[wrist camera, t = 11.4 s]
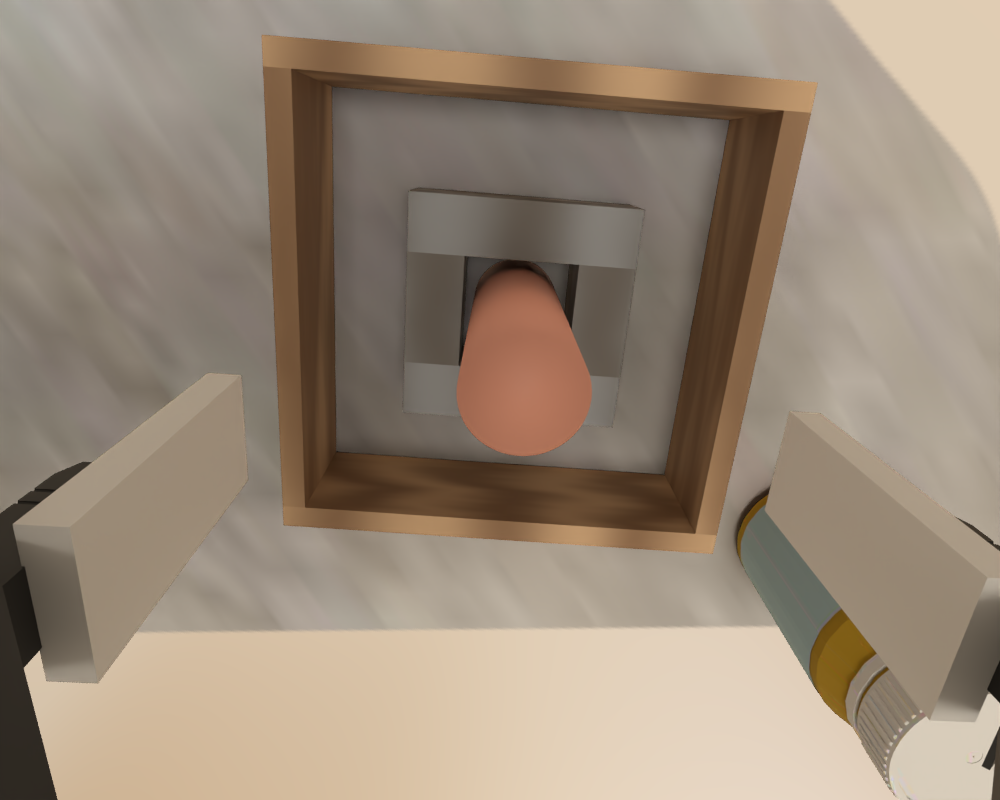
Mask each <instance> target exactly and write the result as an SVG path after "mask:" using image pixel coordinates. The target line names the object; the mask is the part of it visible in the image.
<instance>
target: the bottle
mask: <svg viewBox="0 0 1000 800" xmlns="http://www.w3.org/2000/svg"><path fill="white" fill-rule="evenodd" d="M768 495H769V494H768ZM768 495H767V496H766V497H764V498H763V499H761V500H760V501H759V502H758V503H756V504H755V505H754V507H753V508H752V509H751V510H750V512H749V513H748V514H747V515H746V517H745V518H744V520H743V522H742V525H741V528H740V530H739V533H738V538H737V551H738V555H739V558H740V560H741V563H742V565H743V567H744V569H745V571H746V573H747V575H748V576H749V578H750V580H751V581H752V583H753V585H754V587H755V588H756V590H757V592H758V593H759V595H760V597H761V598H762V600H763V602H764V603H765V605H766V607H767V608H768V610H769V612H770V613H771V615H772V617H773V618H774V620H775V622H776V623H777V625H778V627H779V628H780V630H781V632H782V633H783V635H784V637H785V638H786V640H787V642H788V643H789V645H790V647H791V648H792V650H793V652H794V654H795V655H796V657H797V658H798V660H799V662H800V664H801V665H802V667H803V669H804V670H805V672H806V673H807V675H808V677H809V679H810V680H811V682H812V684H813V685H814V687H815V689H816V690H817V692H818V693H819V694H820V696H821V697H822V699H823V701H824V702H825V703H826V704H827V705H828V706H829V707H830V708H831V709H832V711H833V712H834V713H835V714H837V715H838V716H839V717H841V718H842V719H843V720H844V721H846V722H847V723H848V724H849V725H851V726H852V727H853V729H854V730H855V732H856V734H857V735H858V737H859V738H860V740H861V742H862V745H863V747H864V749H865V750H866V752H867V754H868V755H869V757H870V759H871V760H872V762H873V763H874V765H875V767H876V768H877V770H878V771H879V773H880V775H881V776H882V778H883V780H884V781H885V783H886V784H887V786H888V788H889V789H890V791H891V792H892V793H893V794H894V796H895V797H897V798H898V799H899V800H991V797H992V787H993V776H994V766H995V764H994V765H993V767H992V768H991V769H990V770H988V769H986V768H984V767H982V764H983V762H984V760H985V757H986V755H987V753H988V751H989V749H990V746H991V744H992V742H993V740H994V738H995V736H996V733H997V731H998V729H999V727H1000V703H999V702H998V701H997V700H996V699H995V698H994V697H993V696H992V695H991V693H990V692H988V694H987V697H986V699H985V701H984V704H983V706H982V708H981V710H980V713H979V715H978V717H977V720H976V722H952V721H930V720H929V719H928V718H927V717H926V715H925V714H924V713H923V712H922V710H921V709H920V708H919V706H918V705H917V704H916V703H915V701H914V700H913V699H912V698H911V696H910V695H909V694H908V692H907V691H906V690H905V689H904V687H903V686H902V685H901V683H900V682H899V681H898V680H897V678H896V677H895V676H894V675H893V673H892V672H891V671H890V669H889V668H888V667H887V666H886V664H885V663H884V662H883V661H882V659H881V658H880V657H879V655H878V654H877V653H876V652H875V650H874V649H873V648H872V647H871V645H870V644H869V643H868V641H867V640H866V639H865V638H864V636H863V635H862V634H861V633H860V631H859V630H858V629H857V627H856V626H855V625H854V624H853V622H852V621H851V620H850V619H849V617H848V616H847V615H846V613H845V612H844V611H843V610H842V608H841V607H840V606H839V604H838V603H837V602H836V601H835V599H834V598H833V597H832V596H831V594H830V593H829V592H828V590H827V589H826V588H825V587H824V585H823V584H822V583H821V582H820V580H819V579H818V578H817V576H816V575H815V574H814V573H813V571H812V570H811V569H810V568H809V566H808V565H807V564H806V562H805V561H804V560H803V559H802V557H801V556H800V555H799V554H798V552H797V551H796V550H795V548H794V547H793V546H792V545H791V543H790V542H789V541H788V540H787V538H786V537H785V536H784V534H783V533H782V532H781V531H780V529H779V528H778V527H777V525H776V524H775V523H774V522H773V520H772V519H771V518H770V517H769V515H768V514H767V513H766V511H765V507H766V503H767V499H768Z"/></svg>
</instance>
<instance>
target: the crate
mask: <svg viewBox="0 0 1000 800" xmlns="http://www.w3.org/2000/svg"><path fill="white" fill-rule="evenodd" d="M262 54H263V76H264V98H265V120H266V143H267V165H268V187H269V209H270V231H271V253H272V276H273V298H274V320H275V342H276V364H277V387H278V409H279V431H280V453H281V475H282V497H283V520H284V525H288V526H303V527H318V528H333V529H348V530H363V531H378V532H393V533H408V534H423V535H438V536H453V537H468V538H483V539H498V540H513V541H528V542H543V543H558V544H573V545H588V546H603V547H618V548H633V549H648V550H663V551H678V552H693V553H708V554H713V550H714V545H715V541H716V536H717V532H718V527H719V523H720V518H721V514H722V509H723V505H724V500H725V496H726V491H727V487H728V482H729V478H730V474H731V469H732V465H733V460H734V456H735V451H736V447H737V442H738V438H739V433H740V429H741V424H742V420H743V415H744V411H745V406H746V402H747V397H748V393H749V388H750V384H751V379H752V375H753V370H754V366H755V362H756V357H757V353H758V348H759V344H760V339H761V335H762V330H763V326H764V321H765V317H766V312H767V308H768V303H769V299H770V294H771V290H772V285H773V281H774V276H775V272H776V267H777V263H778V258H779V254H780V250H781V245H782V241H783V236H784V232H785V227H786V223H787V218H788V214H789V209H790V205H791V200H792V196H793V191H794V187H795V182H796V178H797V173H798V169H799V164H800V160H801V155H802V151H803V146H804V142H805V138H806V133H807V129H808V124H809V120H810V115H811V111H812V106H813V102H814V97H815V93H816V88H817V84H818V83H816V82H804V81H792V80H781V79H769V78H758V77H746V76H734V75H723V74H711V73H700V72H688V71H676V70H665V69H653V68H642V67H630V66H618V65H607V64H595V63H584V62H572V61H560V60H549V59H537V58H526V57H514V56H502V55H491V54H479V53H468V52H456V51H444V50H433V49H421V48H410V47H398V46H386V45H375V44H363V43H352V42H340V41H328V40H317V39H305V38H293V37H282V36H270V35H262ZM332 87H343V88H355V89H367V90H379V91H390V92H402V93H414V94H426V95H438V96H450V97H462V98H473V99H485V100H497V101H509V102H521V103H533V104H545V105H556V106H568V107H580V108H592V109H604V110H616V111H628V112H639V113H651V114H663V115H675V116H687V117H699V118H711V119H722V120H730V122H729V127H728V133H727V138H726V143H725V149H724V154H723V160H722V165H721V171H720V176H719V181H718V187H717V192H716V198H715V203H714V209H713V214H712V220H711V225H710V230H709V236H708V241H707V247H706V252H705V258H704V263H703V268H702V274H701V279H700V285H699V290H698V296H697V301H696V307H695V312H694V317H693V323H692V328H691V334H690V339H689V345H688V350H687V355H686V361H685V366H684V372H683V377H682V383H681V388H680V394H679V399H678V404H677V410H676V415H675V421H674V426H673V432H672V437H671V442H670V448H669V453H668V459H667V464H666V470H665V475H658V474H644V473H630V472H615V471H601V470H586V469H572V468H558V467H543V466H529V465H515V464H500V463H486V462H472V461H457V460H443V459H428V458H414V457H400V456H385V455H371V454H357V453H342V452H336V390H335V308H334V225H333V143H332ZM644 214H645V210H644V209H641V208H638V207H635V206H632V205H627V204H615V203H603V202H590V201H578V200H565V199H553V198H541V197H528V196H516V195H503V194H491V193H478V192H466V191H454V190H441V189H429V188H416V189H413V190H410V191H408V229H407V267H406V305H405V343H404V381H403V413H417V414H431V415H445V416H459V417H461V415H460V412H459V408H458V404H457V382H458V376H459V371H460V366H461V361H462V356H463V351H464V346H463V329H464V312H465V295H466V278H467V261H468V256H472V257H484V258H497V259H510V260H523V261H536V262H549V263H561V264H570V268H569V277H568V285H567V294H566V303H565V312H564V314H565V316H566V318H567V321H568V323H569V326H570V328H571V330H572V333H573V335H574V338H575V340H576V342H577V345H578V347H579V349H580V352H581V354H582V357H583V359H584V361H585V364H586V366H587V369H588V372H589V374H590V379H591V385H592V399H591V404H590V408H589V411H588V414H587V416H586V418H585V420H584V422H583V424H582V425H585V426H599V427H613V422H614V415H615V409H616V402H617V395H618V389H619V382H620V375H621V368H622V362H623V355H624V348H625V341H626V335H627V328H628V321H629V315H630V308H631V301H632V294H633V288H634V281H635V274H636V268H637V261H638V254H639V247H640V241H641V234H642V227H643V220H644Z"/></svg>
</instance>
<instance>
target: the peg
mask: <svg viewBox="0 0 1000 800" xmlns="http://www.w3.org/2000/svg"><path fill="white" fill-rule="evenodd" d="M591 399H592V385H591V379H590V374H589V372H588V369H587V366H586V364H585V361H584V359H583V357H582V354H581V352H580V349H579V347H578V345H577V342H576V340H575V338H574V335H573V333H572V330H571V328H570V326H569V323H568V321H567V318H566V316H565V314H564V311H563V309H562V306H561V304H560V302H559V299H558V297H557V294H556V292H555V290H554V287H553V285H552V282H551V281H550V279H549V277H548V276H547V274H546V273H545V272H544V271H543V270H542V269H541V268H540V267H538V266H537V265H535V264H534V263H531V262H529V261H523V260H510V259H509V260H504V261H501V262H499V263H497V264H495V265H493V266H492V267H490V268H489V269H488V270H487V271H486V272H485V273H484V274H483V275H482V277H481V278H480V280H479V282H478V285H477V287H476V291H475V296H474V301H473V306H472V311H471V316H470V321H469V326H468V331H467V336H466V341H465V346H464V351H463V356H462V361H461V366H460V371H459V376H458V382H457V404H458V408H459V412H460V415H461V417H462V419H463V421H464V423H465V425H466V426H467V428H468V429H469V430H470V432H471V433H472V434H473V435H474V436H475V437H476V438H477V439H478V440H479V441H481V442H482V443H483V444H485V445H486V446H488V447H490V448H492V449H494V450H496V451H499V452H501V453H505V454H509V455H516V456H531V455H538V454H542V453H545V452H548V451H551V450H553V449H555V448H557V447H559V446H561V445H562V444H564V443H565V442H567V441H568V440H569V439H570V438H571V437H572V436H573V435H574V434H575V433H576V432H577V431H578V430H579V428H580V427H581V425H582V424H583V422H584V420H585V418H586V416H587V414H588V411H589V408H590V404H591Z"/></svg>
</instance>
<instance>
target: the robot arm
mask: <svg viewBox="0 0 1000 800" xmlns="http://www.w3.org/2000/svg"><path fill="white" fill-rule="evenodd" d="M247 481H248V469H247V454H246V440H245V425H244V410H243V395H242V380H241V375H233V374H218V373H207V374H206V375H204V376H203V377H202V378H201V379H199V380H198V381H197V382H195V383H194V384H193V385H191V386H190V387H189V388H188V389H186V390H185V391H184V392H182V393H181V394H180V395H179V396H177V397H176V398H175V399H173V400H172V401H171V402H170V403H168V404H167V405H166V406H164V407H163V408H162V409H161V410H159V411H158V412H157V413H155V414H154V415H153V416H151V417H150V418H149V419H148V420H146V421H145V422H144V423H142V424H141V425H140V426H139V427H137V428H136V429H135V430H133V431H132V432H131V433H130V434H128V435H127V436H126V437H124V438H123V439H122V440H120V441H119V442H118V443H117V444H115V445H114V446H113V447H111V448H110V449H109V450H108V451H106V452H105V453H104V454H102V455H101V456H100V457H99V458H97V459H96V460H95V461H93V462H82V463H79V464H77V465H74V466H72V467H70V468H67V469H65V470H62V471H60V472H58V473H55V474H54V475H52V476H51V477H50V478H48V479H47V480H45V481H44V482H43V483H41V484H40V485H39V486H37V487H36V488H35V490H34V491H30V492H29V493H28V494H26V495H25V496H24V497H22V498H21V499H20V500H18V504H13V505H11V506H10V507H9V508H7V509H6V510H5V511H3V512H2V513H0V800H57V796H56V792H55V788H54V785H53V780H52V777H51V773H50V769H49V765H48V761H47V757H46V753H45V749H44V745H43V742H42V738H41V734H40V730H39V726H38V722H37V718H36V715H35V711H34V707H33V703H32V699H31V695H30V691H29V687H28V684H27V680H26V676H25V672H24V667H25V666H26V665H27V664H28V662H29V661H30V660H31V659H32V658H33V657H34V656H35V655H36V654H37V653H38V651H39V650H40V654H41V659H42V663H43V668H44V672H45V676H46V681H56V682H76V683H77V682H79V683H99V681H100V680H101V679H102V677H103V676H104V675H105V673H106V672H107V670H108V669H109V668H110V666H111V665H112V664H113V662H114V661H115V660H116V658H117V657H118V656H119V654H120V653H121V652H122V650H123V649H124V648H125V646H126V645H127V643H128V642H129V641H130V639H131V638H132V637H133V635H134V634H135V633H136V631H137V630H138V629H139V627H140V626H141V624H142V623H143V622H144V620H145V619H146V618H147V616H148V615H149V614H150V612H151V611H152V610H153V608H154V607H155V606H156V604H157V603H158V601H159V600H160V599H161V597H162V596H163V595H164V593H165V592H166V591H167V589H168V588H169V587H170V585H171V584H172V583H173V581H174V580H175V578H176V577H177V576H178V574H179V573H180V572H181V570H182V569H183V568H184V566H185V565H186V564H187V562H188V561H189V559H190V558H191V557H192V555H193V554H194V553H195V551H196V550H197V549H198V547H199V546H200V545H201V543H202V542H203V541H204V539H205V538H206V536H207V535H208V534H209V532H210V531H211V530H212V528H213V527H214V526H215V524H216V523H217V522H218V520H219V519H220V518H221V516H222V515H223V513H224V512H225V511H226V509H227V508H228V507H229V505H230V504H231V503H232V501H233V500H234V499H235V497H236V496H237V495H238V493H239V492H240V490H241V489H242V488H243V486H244V485H245V484H246V482H247ZM765 511H766V513H767V514H768V515H769V517H770V518H771V519H772V520H773V522H774V523H775V524H776V525H777V527H778V528H779V529H780V531H781V532H782V533H783V534H784V536H785V537H786V538H787V540H788V541H789V542H790V543H791V545H792V546H793V547H794V548H795V550H796V551H797V552H798V554H799V555H800V556H801V557H802V559H803V560H804V561H805V562H806V564H807V565H808V566H809V568H810V569H811V570H812V571H813V573H814V574H815V575H816V576H817V578H818V579H819V580H820V582H821V583H822V584H823V585H824V587H825V588H826V589H827V590H828V592H829V593H830V594H831V596H832V597H833V598H834V599H835V601H836V602H837V603H838V604H839V606H840V607H841V608H842V610H843V611H844V612H845V613H846V615H847V616H848V617H849V619H850V620H851V621H852V622H853V624H854V625H855V626H856V627H857V629H858V630H859V631H860V633H861V634H862V635H863V636H864V638H865V639H866V640H867V641H868V643H869V644H870V645H871V647H872V648H873V649H874V650H875V652H876V653H877V654H878V655H879V657H880V658H881V659H882V661H883V662H884V663H885V664H886V666H887V667H888V668H889V669H890V671H891V672H892V673H893V675H894V676H895V677H896V678H897V680H898V681H899V682H900V683H901V685H902V686H903V687H904V689H905V690H906V691H907V692H908V694H909V695H910V696H911V698H912V699H913V700H914V701H915V703H916V704H917V705H918V706H919V708H920V709H921V710H922V712H923V713H924V714H925V715H926V717H927V718H928V719H929V720H930V721H952V722H976V720H977V717H978V715H979V713H980V710H981V708H982V706H983V704H984V701H985V699H986V697H987V694H988V692H990V693H991V695H992V696H993V697H994V698H995V699H996V700H997V701H998V702H999V703H1000V546H999V545H996V544H993V541H992V540H991V539H990V538H988V537H987V536H986V535H984V534H983V533H982V532H980V531H979V530H978V529H976V528H975V527H974V526H972V525H970V524H968V523H967V522H965V521H963V520H961V519H959V518H957V517H955V516H953V515H952V514H951V513H949V512H948V511H947V510H945V509H944V508H943V507H942V506H940V505H939V504H938V503H936V502H935V501H934V500H932V499H931V498H930V497H929V496H927V495H926V494H925V493H923V492H922V491H921V490H919V489H918V488H917V487H916V486H914V485H913V484H912V483H910V482H909V481H908V480H907V479H905V478H904V477H903V476H901V475H900V474H899V473H897V472H896V471H895V470H894V469H892V468H891V467H890V466H888V465H887V464H886V463H884V462H883V461H882V460H881V459H879V458H878V457H877V456H875V455H874V454H873V453H871V452H870V451H869V450H868V449H866V448H865V447H864V446H862V445H861V444H860V443H858V442H857V441H856V440H855V439H853V438H852V437H851V436H849V435H848V434H847V433H845V432H844V431H843V430H842V429H840V428H839V427H838V426H836V425H835V424H834V423H832V422H831V421H830V420H829V419H827V418H826V417H825V416H823V415H822V414H821V413H810V412H795V411H789V415H788V419H787V423H786V427H785V431H784V435H783V439H782V443H781V447H780V451H779V455H778V459H777V463H776V467H775V471H774V475H773V479H772V483H771V487H770V491H769V495H768V499H767V503H766V507H765ZM994 764H995V766H994V776H993V787H992V797H991V800H1000V727H999V729H998V731H997V733H996V736H995V738H994V740H993V742H992V744H991V746H990V749H989V751H988V753H987V755H986V757H985V760H984V762H983V764H982V767H984V768H986V769H988V770H990V769H991V768H992V767H993V765H994Z"/></svg>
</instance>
